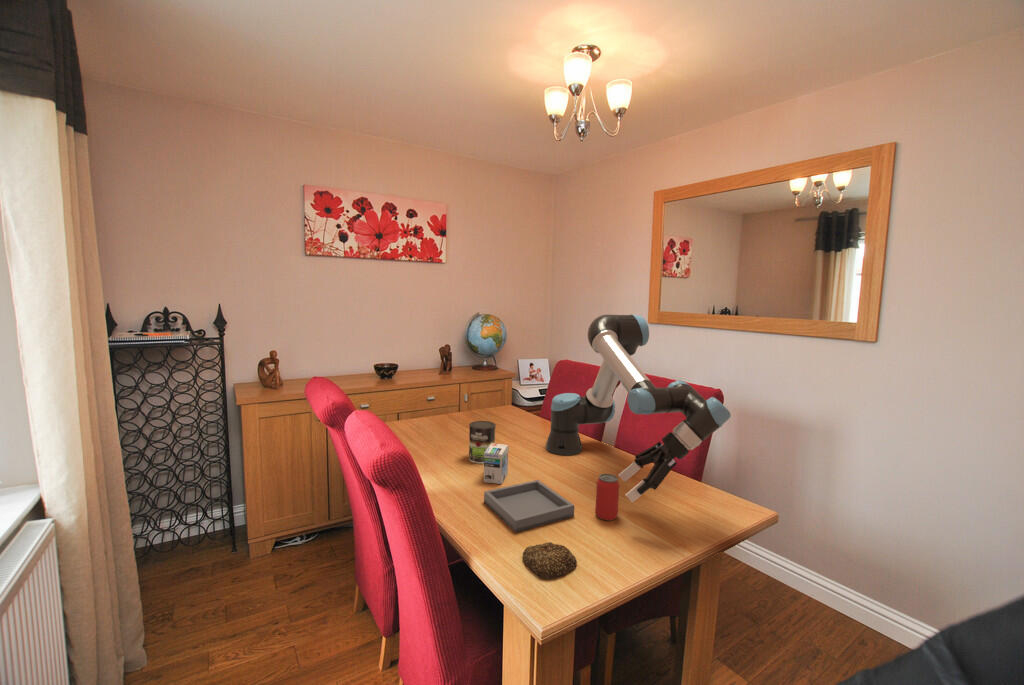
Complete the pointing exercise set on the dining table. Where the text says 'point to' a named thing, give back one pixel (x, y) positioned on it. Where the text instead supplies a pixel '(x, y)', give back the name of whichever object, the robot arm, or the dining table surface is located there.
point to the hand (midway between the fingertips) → (624, 488)
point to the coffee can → (480, 439)
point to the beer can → (607, 497)
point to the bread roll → (549, 560)
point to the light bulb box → (495, 463)
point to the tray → (528, 505)
